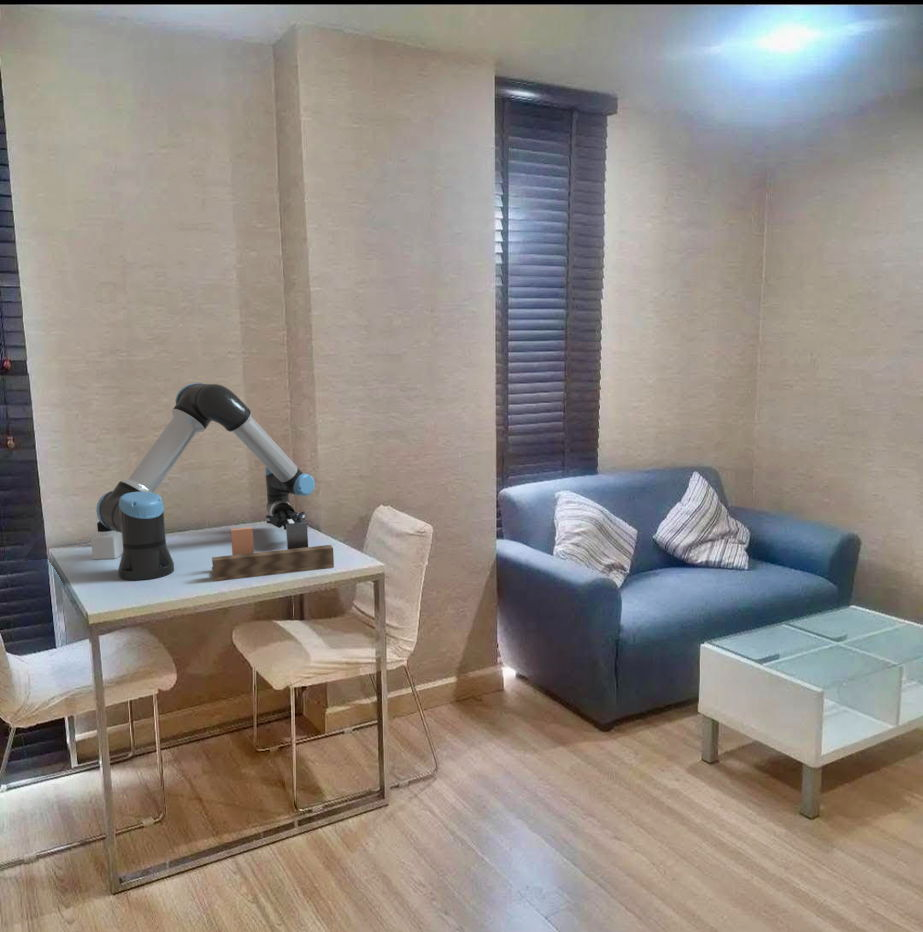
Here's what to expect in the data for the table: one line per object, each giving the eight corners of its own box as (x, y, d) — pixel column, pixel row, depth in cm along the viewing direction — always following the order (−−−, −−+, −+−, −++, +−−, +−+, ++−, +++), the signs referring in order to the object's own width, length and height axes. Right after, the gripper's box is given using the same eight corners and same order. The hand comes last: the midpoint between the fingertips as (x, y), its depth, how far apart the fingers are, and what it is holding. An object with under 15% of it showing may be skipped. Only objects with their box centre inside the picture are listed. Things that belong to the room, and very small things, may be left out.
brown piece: (214, 581, 218) (212, 560, 217) (212, 570, 229) (210, 550, 228) (334, 567, 230) (333, 547, 229) (326, 557, 241) (325, 538, 240)
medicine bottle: (124, 553, 251) (121, 517, 250) (115, 559, 244) (112, 521, 242) (102, 553, 251) (99, 517, 249) (92, 559, 244) (89, 522, 242)
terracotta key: (233, 567, 228) (231, 530, 226) (233, 565, 230) (230, 529, 228) (254, 564, 230) (252, 528, 228) (254, 563, 232) (251, 527, 230)
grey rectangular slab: (288, 560, 233) (286, 525, 232) (287, 559, 235) (285, 523, 233) (308, 558, 235) (307, 523, 234) (307, 557, 237) (306, 521, 236)
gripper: (302, 521, 268) (314, 537, 247) (263, 525, 264) (272, 541, 242) (301, 500, 267) (312, 513, 245) (262, 504, 263) (271, 518, 241)
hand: (292, 527), depth 244 cm, fingers closed
